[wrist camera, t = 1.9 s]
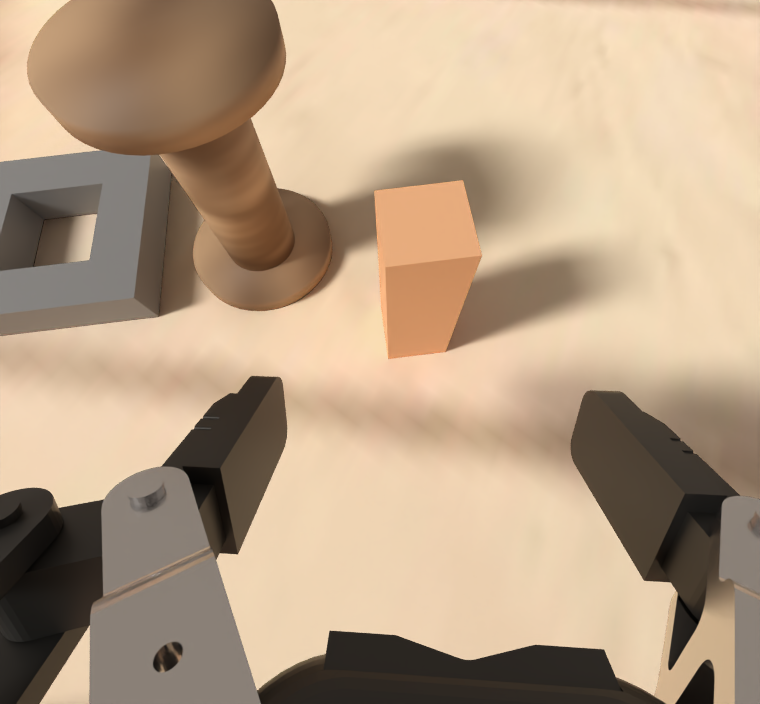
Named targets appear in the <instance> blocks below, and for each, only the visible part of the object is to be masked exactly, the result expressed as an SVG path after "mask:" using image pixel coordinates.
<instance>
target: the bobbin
mask: <svg viewBox="0 0 760 704" xmlns="http://www.w3.org/2000/svg"><path fill="white" fill-rule="evenodd" d="M285 65H286V50H285V44H284V39H283V35H282V31H281V27H280V23H279V19H278V14H277V12H276V9H275V6H274V4H273V2H272V1H271V0H70V1H69V2H68V3H66V4H65V5H64V6H63V7H61V8H60V9H59V10H58V11H57V12H56V13H55V14H54V15H53V16H52V17H51V18H50V19H49V20H48V21H47V22H46V23H45V25H44V26H43V27H42V29H41V30H40V31H39V33H38V35H37V36H36V38H35V40H34V42H33V44H32V47H31V49H30V52H29V56H28V61H27V75H28V79H29V84H30V86H31V88H32V90H33V92H34V94H35V95H36V97H37V98H38V99H39V100H40V102H41V103H42V104H43V105H44V106H45V107H46V109H47V110H48V111H49V112H50V113H51V114H52V115H53V116H54V117H55V119H56V120H57V121H58V122H59V123H60V124H61V125H62V126H63V127H64V129H65V130H67V131H68V132H69V133H70V134H71V135H72V136H73V137H75V138H76V139H78V140H80V141H81V142H83V143H85V144H87V145H89V146H92V147H94V148H96V149H99V150H103V151H107V152H110V153H116V154H123V155H139V156H146V155H160V156H161V157H162V158H163V160H164V161H165V163H166V164H167V166H168V167H169V169H170V170H171V172H172V173H173V174H174V176H175V177H176V179H177V180H178V182H179V183H180V185H181V186H182V188H183V189H184V190H185V192H186V193H187V195H188V196H189V198H190V199H191V201H192V202H193V204H194V205H195V206H196V208H197V209H198V211H199V212H200V214H201V215H202V217H203V218H204V222H203V223H202V225H201V227H200V228H199V230H198V233H197V235H196V238H195V241H194V247H193V260H194V265H195V268H196V271H197V273H198V275H199V277H200V279H201V280H202V281H203V283H204V284H205V285H206V286H207V287H208V288H209V290H210V291H211V292H212V293H213V294H214V295H215V296H216V297H218V298H219V299H220V300H222V301H223V302H225V303H227V304H229V305H231V306H233V307H236V308H239V309H244V310H250V311H265V310H272V309H277V308H281V307H284V306H287V305H289V304H291V303H294V302H296V301H297V300H299V299H301V298H302V297H304V296H305V295H306V294H308V293H309V292H310V291H311V290H312V289H313V288H314V287H316V285H317V284H318V283H319V282H320V281H321V279H322V278H323V276H324V274H325V273H326V271H327V269H328V266H329V263H330V260H331V255H332V241H331V235H330V231H329V227H328V224H327V221H326V219H325V217H324V215H323V213H322V212H321V211H320V209H319V208H318V207H317V206H316V205H315V204H314V203H313V202H312V201H310V200H309V199H308V198H306V197H304V196H302V195H300V194H298V193H295V192H293V191H289V190H285V189H278V188H277V187H276V184H275V181H274V179H273V176H272V173H271V171H270V168H269V165H268V163H267V160H266V158H265V155H264V152H263V150H262V147H261V144H260V142H259V139H258V136H257V134H256V131H255V128H254V126H253V123H252V121H251V117H253V116H254V115H255V114H256V113H257V112H258V111H259V110H260V109H261V108H262V107H263V106H264V105H265V104H266V102H267V101H268V100H269V99H270V98H271V96H272V95H273V93H274V92H275V90H276V89H277V87H278V85H279V83H280V81H281V78H282V76H283V73H284V69H285Z"/></svg>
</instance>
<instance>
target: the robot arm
mask: <svg viewBox="0 0 760 704" xmlns="http://www.w3.org/2000/svg"><path fill="white" fill-rule="evenodd" d="M286 438H287V420H286V410H285V400H284V391H283V383H282V380H281V378H280V377H264V376H251V377H250V378H249V379H248V380H247V382H246V383H245V384H244V386H243V387H242V388H241V389H240V391H239V392H238V393H237V394H234V393H230V394H228V395H227V396H225V397H223V398H222V399H220V400H219V401H217V402H215V403H214V404H213V405H212V406H211V407H210V409H209V410H208V411H207V412H206V413H205V415H204V416H203V419H200V421H199V422H198V423H197V424H196V425H195V428H194V430H193V429H192V430H191V431H190V433H189V434H188V435H187V436H186V437H185V439H184V440H183V441H182V442H181V444H180V445H179V446H178V447H177V448H176V450H175V451H174V452H173V453H172V454H171V456H170V457H169V458H168V459H167V460H166V462H165V463H164V464H163V465H162V466H161V467H156V468H151V469H147V470H144V471H141V472H138V473H136V474H134V475H132V476H130V477H128V478H126V479H125V480H123V481H122V482H120V483H119V484H117V485H116V486H115V487H114V488H113V489H112V490H111V491H110V492H109V493H108V494H107V496H106V497H105V499H104V500H100V501H94V502H89V503H83V504H78V505H72V506H67V507H62V508H58V506H57V504H56V502H55V499H54V497H53V495H52V494H51V493H50V492H49V491H47V490H45V489H42V488H26V489H19V490H15V491H11V492H8V493H5V494H2V495H0V704H39V703H40V702H41V700H42V699H43V697H44V696H45V694H46V692H47V691H48V689H49V688H50V686H51V685H52V683H53V681H54V680H55V678H56V677H57V675H58V674H59V672H60V671H61V669H62V667H63V666H64V664H65V663H66V661H67V660H68V658H69V656H70V655H71V653H72V652H73V650H74V649H75V647H76V646H77V644H78V642H79V641H80V639H81V638H82V636H83V635H84V633H85V631H86V630H87V628H88V627H89V625H90V698H89V704H760V499H757V498H752V497H747V496H740V495H739V494H738V493H737V492H736V491H735V490H734V489H733V488H732V487H731V486H730V485H729V484H728V483H726V482H725V481H724V480H723V479H722V478H721V477H720V476H719V475H718V474H717V473H716V472H715V471H714V470H713V469H712V468H711V467H710V466H709V465H707V464H706V463H705V462H704V461H703V460H702V459H701V458H700V457H699V456H698V455H697V454H693V450H692V449H691V448H690V447H688V446H687V445H686V444H685V443H684V442H681V441H680V438H679V437H678V436H677V435H676V434H675V433H674V432H673V431H672V430H671V429H670V428H668V427H667V426H666V425H665V424H664V423H662V422H660V421H659V420H657V419H655V418H654V417H652V416H650V415H648V414H647V413H645V412H642V411H641V410H640V409H639V408H638V407H637V406H636V405H635V404H634V403H633V402H632V401H631V400H630V399H629V398H628V397H627V396H626V395H625V394H624V393H622V392H618V391H593V390H590V391H587V392H586V393H585V395H584V397H583V399H582V403H581V406H580V410H579V414H578V417H577V421H576V424H575V428H574V432H573V435H572V439H571V455H572V459H573V461H574V464H575V465H576V467H577V469H578V470H579V472H580V474H581V475H582V477H583V479H584V481H585V482H586V484H587V486H588V487H589V489H590V491H591V492H592V494H593V496H594V497H595V499H596V501H597V502H598V504H599V506H600V507H601V509H602V511H603V512H604V514H605V516H606V517H607V519H608V521H609V522H610V524H611V526H612V528H613V529H614V531H615V533H616V534H617V536H618V538H619V539H620V541H621V543H622V544H623V546H624V548H625V549H626V551H627V553H628V554H629V556H630V558H631V559H632V561H633V563H634V564H635V566H636V568H637V569H638V571H639V573H640V574H641V576H642V578H643V580H644V581H658V582H671V583H672V585H673V586H674V588H675V589H676V591H675V593H674V595H673V597H672V599H671V602H670V607H669V614H668V620H667V627H666V633H665V640H664V646H663V653H662V659H661V666H660V672H659V678H658V683H657V687H656V691H655V694H654V696H653V695H651V694H650V693H648V692H646V691H644V690H643V689H641V688H639V687H637V686H635V685H632V684H630V683H628V682H626V681H624V680H622V679H619V678H616V677H615V674H614V672H613V670H612V667H611V665H610V663H609V660H608V658H607V656H606V653H605V651H604V650H602V649H588V648H573V647H559V646H544V645H533V646H528V647H524V648H520V649H516V650H512V651H508V652H504V653H500V654H496V655H492V656H488V657H484V658H480V659H476V660H463V659H460V658H457V657H454V656H451V655H449V654H446V653H443V652H440V651H437V650H435V649H432V648H429V647H426V646H424V645H421V644H418V643H415V642H413V641H410V640H407V639H404V638H402V637H399V636H396V635H384V634H370V633H355V632H341V631H330V632H329V638H328V645H327V651H326V654H324V655H320V656H316V657H313V658H310V659H308V660H305V661H303V662H300V663H298V664H296V665H294V666H292V667H290V668H288V669H286V670H285V671H283V672H281V673H280V674H278V675H277V676H275V677H274V678H273V679H271V680H270V681H268V682H267V683H265V684H264V685H263V686H262V687H261V688H260V689H259V690H256V687H255V683H254V680H253V677H252V674H251V671H250V667H249V664H248V661H247V658H246V655H245V651H244V648H243V645H242V642H241V639H240V636H239V632H238V629H237V626H236V623H235V620H234V616H233V613H232V610H231V607H230V604H229V600H228V597H227V594H226V591H225V588H224V584H223V581H222V578H221V575H220V572H219V568H218V565H217V562H216V559H217V557H218V555H219V553H227V554H238V553H239V551H240V548H241V546H242V544H243V541H244V539H245V537H246V535H247V532H248V530H249V528H250V525H251V523H252V521H253V518H254V516H255V514H256V512H257V509H258V507H259V505H260V502H261V500H262V498H263V496H264V493H265V491H266V489H267V486H268V484H269V482H270V479H271V477H272V475H273V473H274V470H275V468H276V466H277V463H278V461H279V459H280V457H281V454H282V452H283V450H284V447H285V443H286Z"/></svg>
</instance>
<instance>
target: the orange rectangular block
mask: <svg viewBox="0 0 760 704" xmlns="http://www.w3.org/2000/svg"><path fill="white" fill-rule="evenodd" d="M374 194H375V211H376V228H377V244H378V261H379V278H380V294H381V309H382V316H383V324H384V331H385V338H386V346H387V353H388V359H391V358H399V357H407V356H415V355H423V354H432V353H440V352H446V349H447V347H448V344H449V341H450V339H451V336H452V334H453V331H454V328H455V326H456V323H457V320H458V318H459V315H460V312H461V310H462V307H463V304H464V302H465V299H466V296H467V294H468V291H469V289H470V286H471V283H472V281H473V278H474V275H475V273H476V270H477V267H478V265H479V262H480V259H481V257H482V254H481V250H480V246H479V242H478V238H477V234H476V230H475V226H474V222H473V218H472V214H471V210H470V206H469V202H468V198H467V194H466V190H465V186H464V182H463V180H460V181H452V182H443V183H435V184H426V185H418V186H409V187H401V188H392V189H384V190H375V191H374Z"/></svg>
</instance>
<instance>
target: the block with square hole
mask: <svg viewBox="0 0 760 704" xmlns="http://www.w3.org/2000/svg"><path fill="white" fill-rule="evenodd" d="M171 174H172V173H171V171H170V170H169V168H168V167H167V166H166V164H165V163H164V161H163V160H162V158H161V157H160V155H146V156H139V155H123V154H116V153H110V152H107V151H103V150H100V151H91V152H83V153H74V154H65V155H57V156H48V157H39V158H31V159H22V160H13V161H4V162H0V336H3V335H11V334H19V333H27V332H36V331H44V330H52V329H60V328H69V327H77V326H85V325H93V324H102V323H110V322H118V321H127V320H135V319H143V318H151V317H159V307H160V296H161V285H162V273H163V262H164V251H165V240H166V229H167V218H168V207H169V196H170V185H171ZM95 213H97V219H96V225H95V231H94V237H93V243H92V248H91V254H90V260H88V261H80V262H71V263H63V264H55V265H46V266H38V267H33V265H34V260H35V256H36V251H37V247H38V243H39V238H40V234H41V230H42V225H43V221H44V219H52V218H61V217H69V216H78V215H86V214H95Z"/></svg>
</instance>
